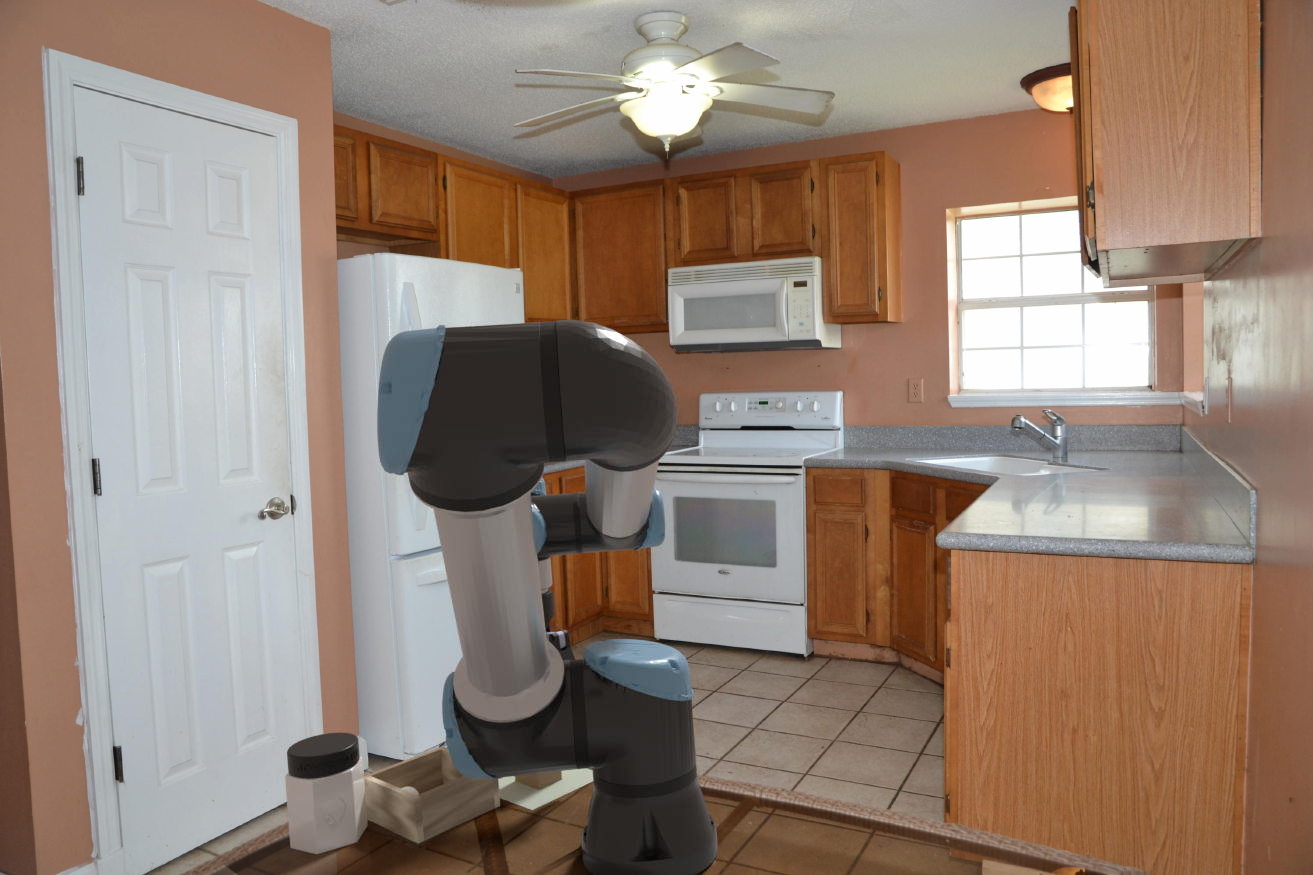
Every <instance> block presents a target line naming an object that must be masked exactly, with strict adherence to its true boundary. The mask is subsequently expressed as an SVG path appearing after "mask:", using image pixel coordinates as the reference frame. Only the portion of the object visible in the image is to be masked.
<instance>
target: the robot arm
mask: <svg viewBox="0 0 1313 875" xmlns="http://www.w3.org/2000/svg"><path fill="white" fill-rule="evenodd" d="M378 380H379V381H378V389H377V390H378V392H377V393H378V394H377V411H376V412H377V414H376V417H377V419H376V421H377V422H376V426H377V431H376V432H377V447H378V449H377V450H378V457H379V463H380V465H381V467H382V469H383V470H384V472H386V473H388V474H393V475H396V476H404V474H406V473H407V476H408V480H409V482H408V483H409V487H410V489H411V491H412V493H413V495H414V496H415V497H416V498H417V500H419V502H421V503H422V504H423V505H425V506H427V507H429V508H430V509H433V512H434V513H433V514H434V519H435V523H436V528H437V534H438V540H439V543H440V548H441V553H442V558H443V563H444V570H445V573H446V578H447V579H446V580H447V583H448V584H447V585H448V587H449V588H448V589H449V594H450V597H451V598H450V599H451V604H452V608H453V614H454V618H455V624H456V627H457V628H456V629H457V634H458V639H459V642H460V643H459V644H460V648H461V652H462V653H461V655H462V657H461V658H460V660H459V661H458V663H457V665H456V668H455V669H454V671H451V673H449V674H448V676H446V679H445V682H444V683H443V684H444V685H443V690H442V699H441V700H442V701H441V704H442V705H441V707H442V708H441V710H442V712H441V714H442V725H443V729H444V730H445V742H446V748H448V751H449V754H450V757H451V760H452V762H453V764H454V766H455V768H456V769H457V770H458V772H459V773H460V774H462V775H463V776H465V777H467V778H471V779H476V778H489V779H501V778H502V777H511V776H520V775H529V774H538V773H547V772H556V771H565V770H574V769H585V768H587V769H591V770H593V782H592V783H593V791H592V795H591V799H590V803H589V807H588V813H587V819H586V825H585V826H584V829H583V831H582V836H581V853H582V862H583V865H584V867H585V869H586V870H587V871H588V872H589V873H590V874H591V875H698V874H699V873H702V871H704V870H705V869H707V868H708V867H709V866H710V865H711V864H712V863H713V862H714V860H715V859H716V857H717V855H718V848H719V847H718V845H719V844H718V833H717V827H716V826H717V825H716V823H715V822H714V819H713V817H712V816H711V814H710V813H709V809H708V806H707V803H706V800H705V796H704V794H703V793H704V792H703V791H702V789H701V785H700V783H699V780H698V769H697V753H696V742H695V741H696V740H695V728H694V714H693V712H694V711H693V700H692V699H693V698H694V696H695V695H694V689H693V688H692V683H691V682H692V681H691V675H690V666H689V663H688V659H687V658H686V656H685V655H684V654H682V652H680V651H679V650H677V649H676V648H674V647H672V646H670V645H667V644H663V643H661V642H656V641H649V640H643V639H636V638H635V639H634V638H633V639H630V638H613V639H612V638H611V639H605V640H604V641H602V640H600V641H593V642H591V643H590V644H588V645H587V646H586V647H585V649H584V652H583V654H582V658H579V659H576V657H575V655H574V653H573V649H572V647H571V641H570V633H569V631H568V630H566V629H563V630H560V631H559V630H558V631H553V630H552V628H551V621H552V619H553V618H554V616H555V614H556V612H555V598H554V592H553V590H552V589H550V588H551V587H552V586H553V573H552V572H553V571H552V562H551V561H552V559H551V558H552V557H554V556H565V555H566V556H567V555H576V554H587V553H589V554H590V553H603V552H616V551H617V552H618V551H629V550H631V551H632V550H633V551H640V550H641V549H648V548H655V547H656V548H657V547H660V546H661V545H662V544H663V543H664V541H665V539H666V517H665V514H666V513H665V505H664V504H665V503H664V499H663V495H662V494H663V493H661V491H660V490H659V489H658V488H656V487H655V485H656V484H655V483H656V479H657V478H656V477H657V473H658V468H659V462H660V460H661V459H662V458H663V457H664V456H665V455H666V454H667V453H668V451H669V449H670V448H671V445H672V443H673V441H674V438H675V435H676V429H677V424H678V418H679V415H678V414H679V413H678V411H679V410H678V402H677V401H678V400H677V397H676V395H675V390H674V388H673V385H672V383H671V382H670V379H669V378H668V376H667V374H666V373H665V371H664V370H663V368H662V367H661V366H660V365H659V363H658V362H657V361H656V360H655V359H654V358H653V357H652V356H651V354H649V353H648V352H647V351H646V350H645V349H644V348H643V347H642V346H640V345H638V344H637V343H636V342H635V341H633V340H632V339H631V338H629V337H627V336H626V335H623V334H621V333H620V332H618V331H616V330H614V329H612V328H609V327H607V326H604V325H600V324H598V323H595V322H591V321H584V320H577V319H567V320H565V319H561V320H559V319H558V320H555V321H538V322H537V321H535V322H521V323H520V322H519V323H518V322H517V323H506V324H505V323H504V324H491V325H488V324H487V325H486V324H485V325H475V326H474V325H472V326H471V325H469V326H454V327H452V326H451V327H446V324H439V325H438V326H437V327H434V328H433V327H432V328H423V329H415V330H404V331H401V332H399V333H397V334H395V335H394V336H393V337H392V338H391V339H390V340H389V342H388V343H387V345H386V347H385V349H384V352H383V355H382V360H381V366H380V372H379V379H378ZM566 461H567V462H568V461H569V462H570V461H584V480H585V481H584V482H585V491H582V492H580V491H579V492H572V493H567V492H566V493H558V494H557V493H553V494H547V489H546V481H545V479H544V478H543V476H544V472H545V464H547V463H548V464H549V463H560V462H561V463H562V462H566Z"/></svg>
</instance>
